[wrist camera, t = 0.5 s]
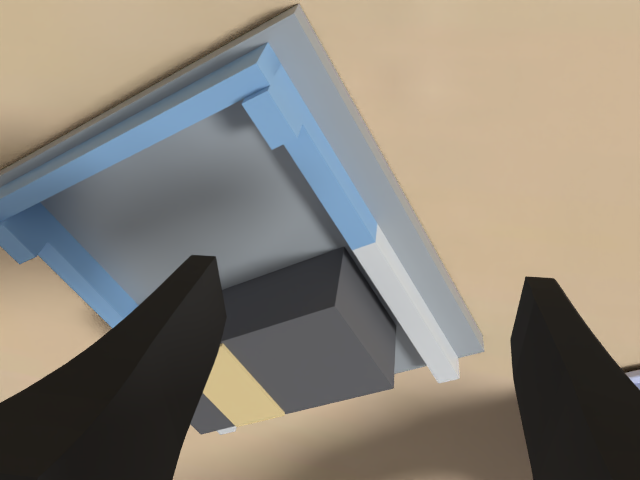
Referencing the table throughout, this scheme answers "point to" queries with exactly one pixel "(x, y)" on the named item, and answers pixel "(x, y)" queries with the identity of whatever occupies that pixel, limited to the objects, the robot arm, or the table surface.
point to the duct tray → (235, 192)
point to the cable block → (298, 344)
